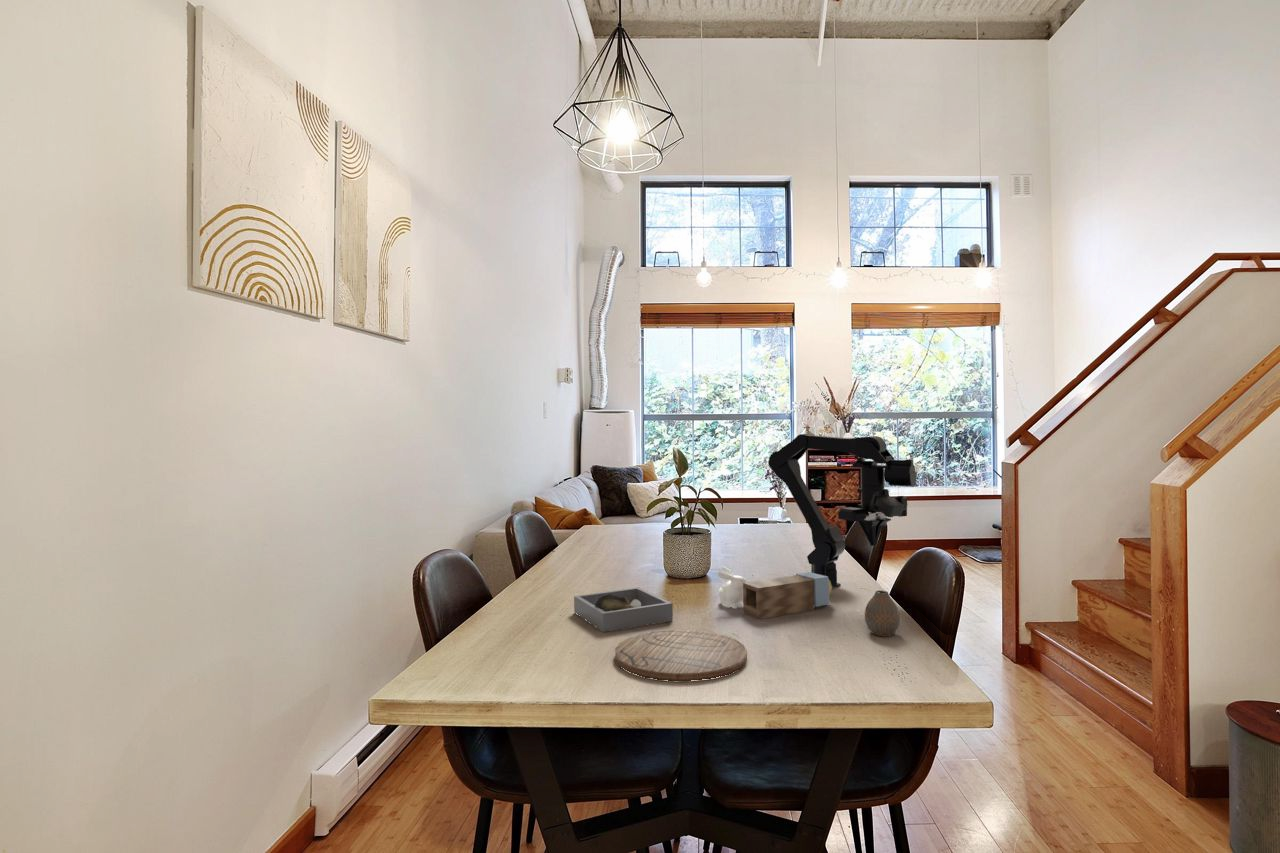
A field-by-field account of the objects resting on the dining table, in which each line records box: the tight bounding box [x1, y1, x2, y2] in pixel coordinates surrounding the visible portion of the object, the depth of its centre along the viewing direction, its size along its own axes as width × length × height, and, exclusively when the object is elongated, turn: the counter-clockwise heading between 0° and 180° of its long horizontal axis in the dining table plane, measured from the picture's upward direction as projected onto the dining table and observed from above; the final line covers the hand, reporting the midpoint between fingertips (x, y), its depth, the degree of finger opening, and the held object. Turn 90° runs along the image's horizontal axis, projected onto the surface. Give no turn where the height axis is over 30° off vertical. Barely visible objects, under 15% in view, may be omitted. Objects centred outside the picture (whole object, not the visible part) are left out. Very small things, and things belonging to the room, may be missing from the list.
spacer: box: [795, 571, 830, 607], centre depth 167 cm, size 4×7×6 cm, turn 27°
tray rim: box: [573, 587, 674, 633], centre depth 160 cm, size 17×17×4 cm
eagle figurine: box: [595, 594, 641, 612], centre depth 155 cm, size 8×7×9 cm
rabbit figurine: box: [717, 565, 748, 609], centre depth 168 cm, size 12×8×10 cm, turn 13°
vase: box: [864, 589, 901, 637], centre depth 145 cm, size 7×7×9 cm
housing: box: [742, 574, 815, 620], centre depth 163 cm, size 16×6×7 cm, turn 117°
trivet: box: [614, 629, 748, 681], centre depth 132 cm, size 25×25×2 cm
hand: (873, 545), depth 179 cm, fingers closed
